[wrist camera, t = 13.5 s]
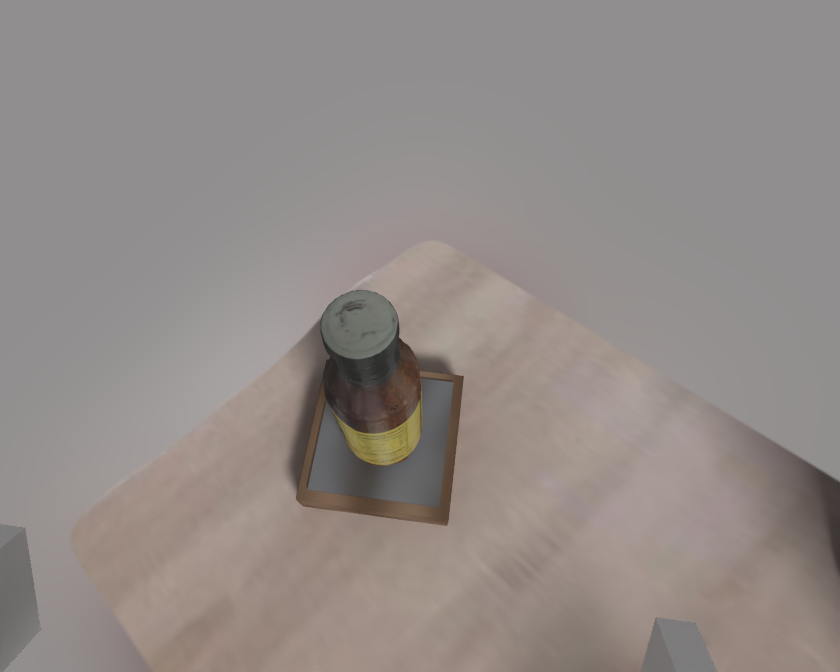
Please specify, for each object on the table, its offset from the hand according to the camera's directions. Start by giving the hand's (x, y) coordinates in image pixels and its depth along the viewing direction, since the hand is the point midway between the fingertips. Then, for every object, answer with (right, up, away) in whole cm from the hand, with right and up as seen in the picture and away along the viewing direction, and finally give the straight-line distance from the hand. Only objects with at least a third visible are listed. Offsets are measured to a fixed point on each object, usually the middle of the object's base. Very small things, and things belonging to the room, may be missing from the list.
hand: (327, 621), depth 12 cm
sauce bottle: (-1, -2, +35) cm, 35 cm away
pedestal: (-1, -3, +38) cm, 38 cm away
